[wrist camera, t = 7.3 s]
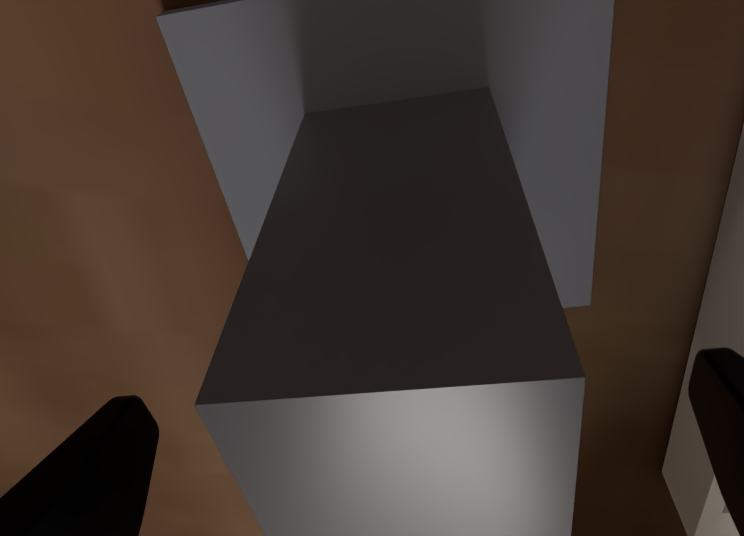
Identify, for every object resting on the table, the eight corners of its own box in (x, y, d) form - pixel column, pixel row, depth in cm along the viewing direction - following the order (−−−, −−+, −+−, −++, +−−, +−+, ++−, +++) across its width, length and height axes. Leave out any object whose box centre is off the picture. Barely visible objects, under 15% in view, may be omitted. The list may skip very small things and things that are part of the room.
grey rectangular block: (495, 242, 16) (567, 572, 9) (340, 258, 16) (289, 578, 9) (488, 86, 13) (585, 376, 6) (304, 113, 14) (194, 405, 7)
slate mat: (586, 294, 17) (590, 305, 17) (279, 324, 19) (276, 334, 19) (612, -73, 12) (619, -70, 11) (163, 10, 13) (155, 16, 13)
